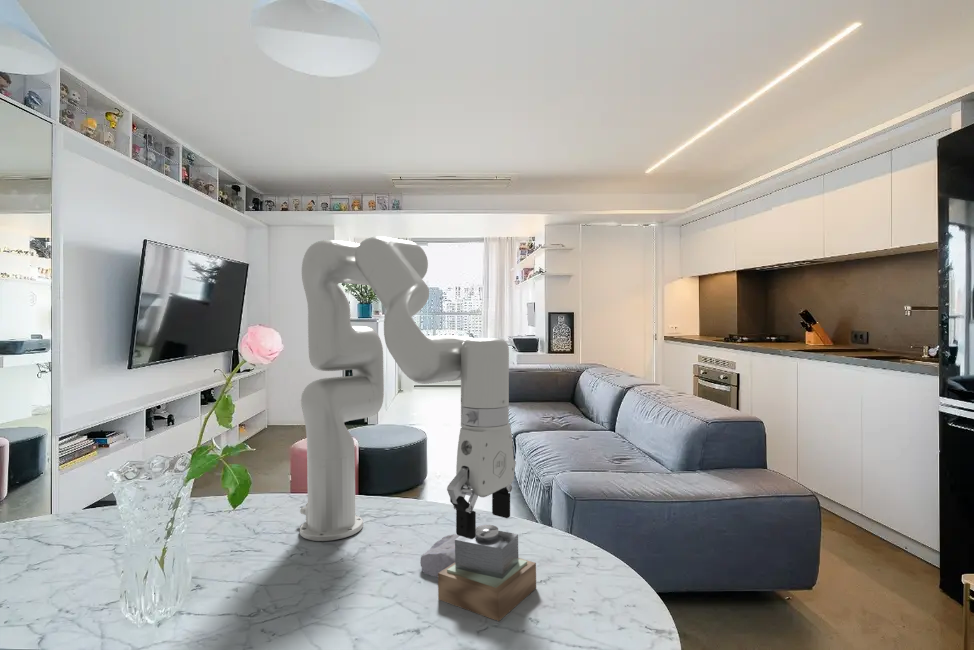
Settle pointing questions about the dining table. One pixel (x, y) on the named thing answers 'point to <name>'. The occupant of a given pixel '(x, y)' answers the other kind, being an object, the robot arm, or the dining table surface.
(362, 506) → the dining table surface
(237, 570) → the dining table surface
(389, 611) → the dining table surface
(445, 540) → the stone block
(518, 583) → the stand
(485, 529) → the housing
